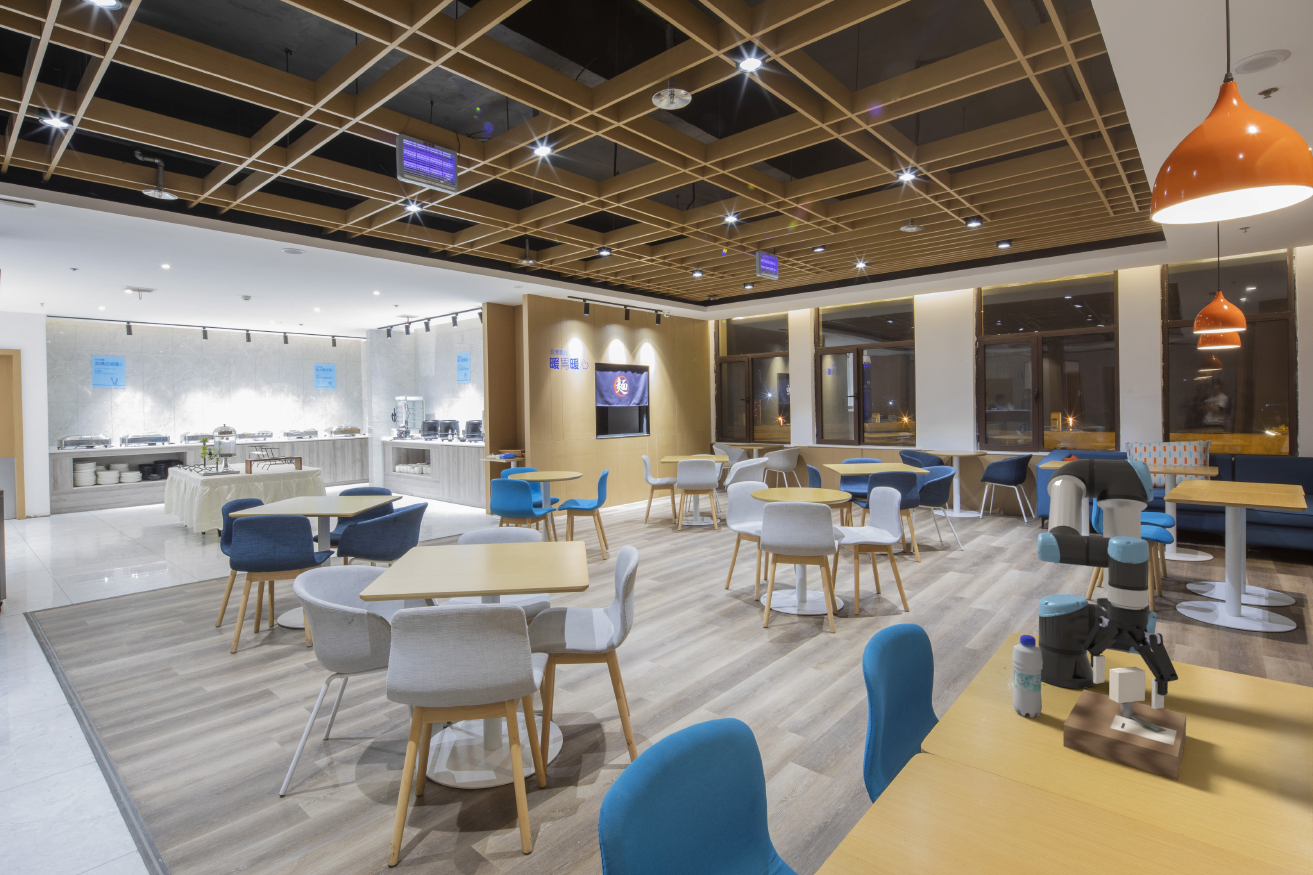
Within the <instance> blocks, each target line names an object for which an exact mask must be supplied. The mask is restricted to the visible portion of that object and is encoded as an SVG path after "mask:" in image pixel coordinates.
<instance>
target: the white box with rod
mask: <svg viewBox="0 0 1313 875" xmlns="http://www.w3.org/2000/svg"><path fill="white" fill-rule="evenodd" d="M1108 682H1109V683H1108V684H1109V687H1108V688H1109V691H1108V692H1109V693H1108V695H1109V699H1111V700H1113V701H1115V702H1117V703H1121V706H1120V714H1121V715H1122V716H1124V717H1127V718H1133V719H1135V720H1136V721H1138V722H1140V723H1142V724H1144V725H1146V726H1148V727H1150V728H1151V729H1153V730H1155V731H1160V729H1159V728H1157V727H1155V726H1153V725H1151V724H1149V723H1148V722H1146V721H1144V720H1142V719H1140V718H1138V717H1136V716H1134V715H1133V702H1142V701H1145V700H1146V670H1144V669H1142V668H1140V667H1137V666H1128V667H1116V668H1109V680H1108Z"/></svg>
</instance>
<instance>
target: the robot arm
mask: <svg viewBox="0 0 1313 875" xmlns="http://www.w3.org/2000/svg"><path fill="white" fill-rule="evenodd" d="M1153 487H1154V485H1153V479H1152V474H1151V471H1150V467H1149V465H1148V464H1147V463H1146V462H1145V461H1142V460H1136V459H1135V460H1134V459H1127V458H1126V459H1104V458H1103V459H1101V458H1100V459H1099V458H1097V459H1096V458H1095V459H1094V458H1080V459H1074V460H1072V461H1069V462H1067V463H1065V464H1063V465H1061V466H1060V467H1059V468H1057V469H1056V470H1055V471H1054V472H1053V473H1052V474H1051V476H1050V477H1049V479H1048V481H1047V488H1046V489H1047V494H1048V496H1049V498H1050V500H1049V501H1050V504H1049V515H1048V527H1047V528H1048V529H1047V532H1040V533H1039V534H1038V536H1037V557H1038V559H1039V560H1040V561H1041V562H1047V563H1053V564H1056V565H1057V564H1058V565H1059V564H1061V565H1073V566H1086V567H1093V568H1103V569H1102V570H1103V571H1102V572H1103V573H1102V574H1103V575H1102V576H1103V585H1102V586H1103V587H1102V588H1103V592H1102V593H1101V594H1100V595H1099V596H1097V597H1096V603H1095V604H1094V603H1089V601H1088V599H1087V598H1086V597H1085V596H1082V595H1078V594H1066V593H1062V594H1060V593H1059V594H1050V595H1047V596H1044V597H1042V598H1041V599H1040V600H1039V603H1038V604H1039V605H1038V612H1037V615H1038V646H1037V647H1038V648H1039V649H1040V650H1041V653H1042V660H1043V665H1042V667H1043V669H1042V670H1041V682H1044V683H1046V684H1050V685H1054V686H1056V687H1062V688H1069V689H1089V688H1091V687H1093V686H1094V685H1095V684H1096V685H1098V684H1101V683H1102V684H1103V683H1105V680H1106V679H1105V676H1106V675H1105V674H1106V673H1105V671H1106V670H1105V668H1106V667H1105V666H1106V665H1105V662H1106V657H1105V655H1103V653H1104V651H1106V650H1111V651H1116V652H1122V653H1127V654H1135V655H1136V654H1138V655H1140V657H1141V658H1142V659H1143V661H1144V663H1145V664H1146V666H1147V667H1148V669H1149V670H1150V672H1151V674H1152V675H1153V676H1154V678H1151V706H1152V708H1153V709H1158V708H1162V709H1164V708H1165V696H1167V695H1168V694H1169V693H1168V691H1169V689H1168V687H1169V686H1168V685H1169V683H1170V682H1173V681H1178V680H1179V676H1178V674H1177V671H1176V670H1175V666H1174V664H1173V663H1172V661H1171V659H1170V656H1169V654H1168V652H1167V648H1166V647H1165V645H1164V637H1163V634H1162V633H1159V632H1158V633H1156V629H1157V628H1156V627H1157V617H1158V615H1157V613H1156V611H1153V610H1150V603H1149V576H1150V574H1149V570H1150V558H1151V557H1150V556H1151V554H1150V548H1149V546H1150V545H1149V542H1148V541H1147V540H1146V539H1142V533H1141V532H1142V528H1141V526H1142V525H1141V522H1142V521H1141V520H1142V519H1141V513H1142V511H1144V510H1145V509H1146V508H1148V503H1149V502H1152V501H1153V500H1154V498H1155V497H1154V489H1153ZM1083 499H1095V500H1096V505H1097V506H1098V507H1099V508H1100V509H1101V510H1102V513H1103V517H1102V519H1103V520H1102V522H1103V523H1102V524H1103V526H1102V530H1103V532H1102V534H1103V535H1102V536H1093V535H1092V536H1091V535H1083V534H1082V531H1083ZM1088 652H1089V654H1090V659H1089V657H1088Z"/></svg>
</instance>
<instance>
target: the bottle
mask: <svg viewBox="0 0 1313 875" xmlns="http://www.w3.org/2000/svg"><path fill="white" fill-rule="evenodd" d="M1036 640H1037V639H1036V638H1035V637H1034V636H1033V635H1030V634H1022V635H1020V638H1019V642H1020V643H1018V644H1015V645H1014V646H1013V651H1012V657H1011V658H1012V665H1013V695H1012V704H1013V708H1014V711H1015V713H1017V714H1021V716H1022V717H1026V714H1028V715H1029V717H1030V718H1034V717H1040V715H1041V713H1042V709H1043V704H1042V703H1043V700H1042V680H1041V670H1042V669H1043V667H1042V665H1043V660H1042V653H1041V650H1040V649H1039V648H1038V647H1039V646H1036V642H1037V641H1036Z"/></svg>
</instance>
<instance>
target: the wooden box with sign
mask: <svg viewBox="0 0 1313 875" xmlns="http://www.w3.org/2000/svg"><path fill="white" fill-rule="evenodd" d="M1120 706H1121V703H1117V702H1115V701H1113V700H1111V699H1109V694H1105V693H1104V694H1103V693H1100V692H1095V691H1091V690H1086V689H1083V690H1082V691H1081V693H1080V695H1079V697H1078V699H1077V700H1076V701H1075V703H1074V706H1073V708H1071V711H1070V713H1069V714H1068V716H1067V718H1066V719H1065V721H1064V723H1063V741H1062V742H1063V747H1065V748H1069V749H1072V750H1074V751H1078V752H1081V753H1085V754H1088V755H1091V756H1095V757H1098V758H1102V759H1105V760H1109V761H1112V762H1115V763H1118V764H1122V765H1125V766H1128V767H1131V768H1134V769H1138V770H1141V771H1144V772H1147V773H1148V772H1149V773H1151V774H1155V775H1158V776H1162V777H1164V778H1169V779H1172V780H1174V781H1178V780H1179V773H1180V768H1181V764H1182V757H1183V753H1184V747H1185V742H1186V738H1187V737H1186V736H1187V714H1186V713H1182V712H1178V711H1173V710H1170V709H1165V708H1158V709H1153V708H1152V705H1149V704H1145V703H1142V702H1138V701H1134V702H1133V715H1134V716H1136V717H1138V718H1140V719H1142V720H1144V721H1146V722H1148V723H1149V724H1151V725H1153V726H1155V727H1157V728H1159V729H1160V731H1155V730H1153V729H1151V728H1150V727H1148V726H1146V725H1144V724H1142V723H1140V722H1138V721H1136V720H1135V719H1133V718H1127V717H1124V716H1122V715H1121V714H1120Z"/></svg>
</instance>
